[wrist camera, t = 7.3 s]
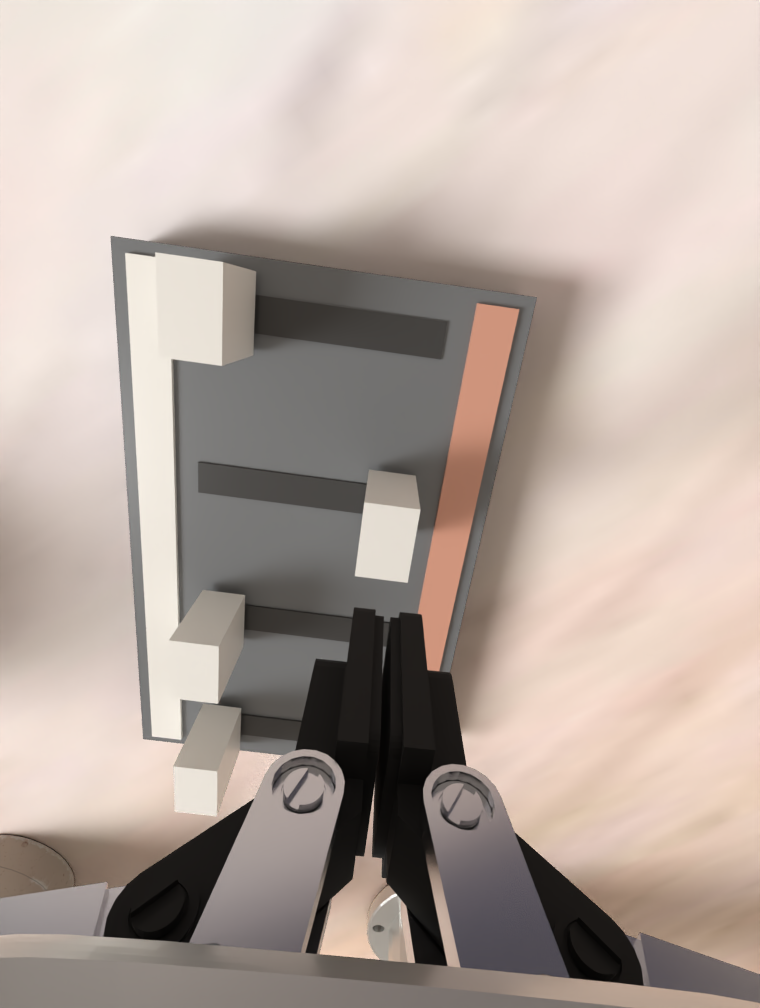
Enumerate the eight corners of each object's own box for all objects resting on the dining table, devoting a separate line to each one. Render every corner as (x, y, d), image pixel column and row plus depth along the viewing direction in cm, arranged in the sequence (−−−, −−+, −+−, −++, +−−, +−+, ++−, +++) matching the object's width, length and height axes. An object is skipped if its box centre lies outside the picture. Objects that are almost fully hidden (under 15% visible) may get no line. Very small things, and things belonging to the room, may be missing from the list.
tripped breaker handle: (415, 475, 21) (420, 509, 17) (405, 538, 22) (407, 582, 18) (368, 469, 21) (364, 502, 17) (360, 533, 22) (354, 576, 18)
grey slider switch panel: (520, 298, 21) (576, 294, 15) (424, 736, 30) (432, 847, 24) (142, 244, 20) (32, 215, 14) (162, 705, 30) (101, 810, 23)
